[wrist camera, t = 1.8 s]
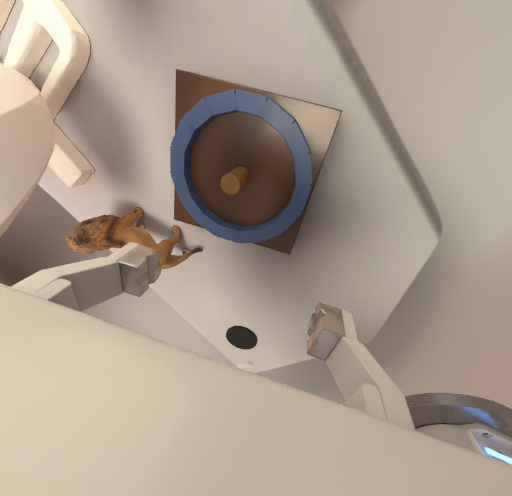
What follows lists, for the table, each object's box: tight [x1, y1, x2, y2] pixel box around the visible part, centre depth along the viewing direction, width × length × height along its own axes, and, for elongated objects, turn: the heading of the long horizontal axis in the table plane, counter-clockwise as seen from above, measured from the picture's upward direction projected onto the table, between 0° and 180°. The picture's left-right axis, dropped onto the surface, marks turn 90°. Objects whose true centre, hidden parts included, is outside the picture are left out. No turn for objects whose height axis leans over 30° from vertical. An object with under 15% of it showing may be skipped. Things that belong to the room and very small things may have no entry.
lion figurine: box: [65, 207, 203, 269], centre depth 29 cm, size 15×5×9 cm, turn 72°
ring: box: [171, 89, 313, 243], centre depth 24 cm, size 15×15×2 cm
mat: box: [226, 326, 257, 349], centre depth 42 cm, size 6×6×1 cm
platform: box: [174, 69, 342, 254], centre depth 24 cm, size 16×16×6 cm
